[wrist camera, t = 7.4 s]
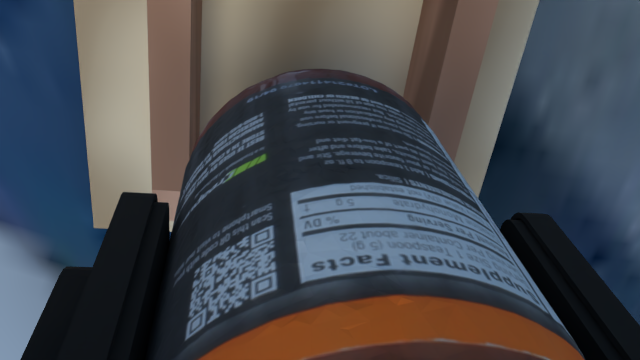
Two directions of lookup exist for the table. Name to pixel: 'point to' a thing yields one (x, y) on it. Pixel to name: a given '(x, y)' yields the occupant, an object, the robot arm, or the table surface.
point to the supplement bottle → (339, 239)
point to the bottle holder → (276, 58)
